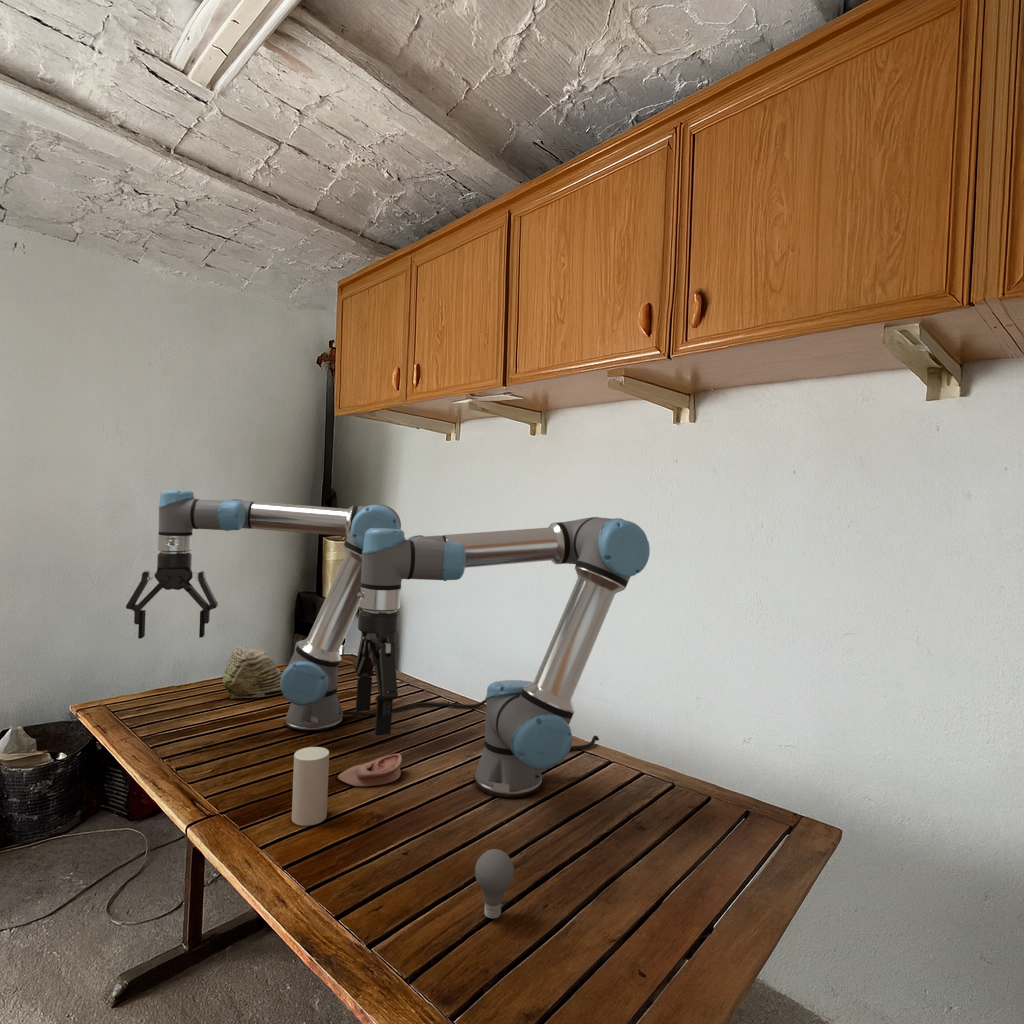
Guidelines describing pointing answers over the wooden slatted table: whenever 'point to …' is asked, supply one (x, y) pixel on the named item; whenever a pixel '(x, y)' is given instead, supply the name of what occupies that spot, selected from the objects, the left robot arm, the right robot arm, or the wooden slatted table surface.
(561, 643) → the right robot arm
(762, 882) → the wooden slatted table surface
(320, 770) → the cylinder
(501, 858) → the light bulb
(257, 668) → the fossil
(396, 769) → the anatomical model
